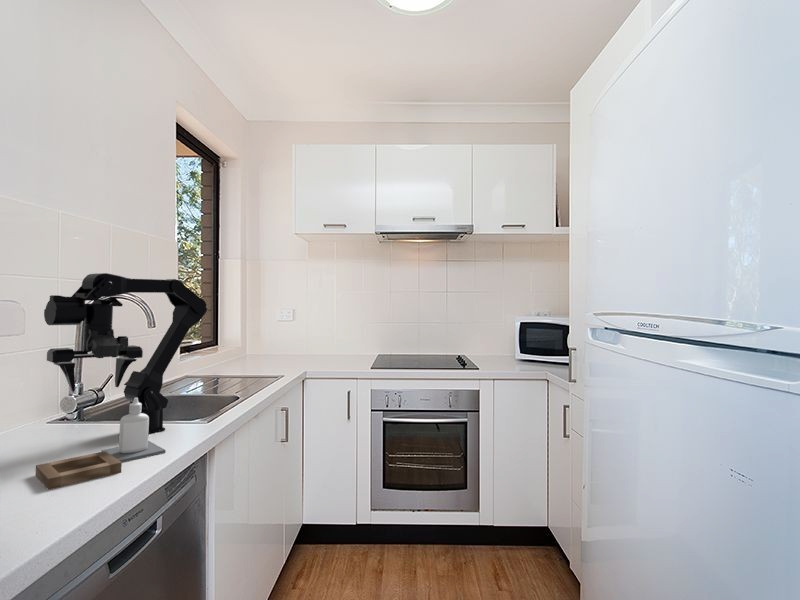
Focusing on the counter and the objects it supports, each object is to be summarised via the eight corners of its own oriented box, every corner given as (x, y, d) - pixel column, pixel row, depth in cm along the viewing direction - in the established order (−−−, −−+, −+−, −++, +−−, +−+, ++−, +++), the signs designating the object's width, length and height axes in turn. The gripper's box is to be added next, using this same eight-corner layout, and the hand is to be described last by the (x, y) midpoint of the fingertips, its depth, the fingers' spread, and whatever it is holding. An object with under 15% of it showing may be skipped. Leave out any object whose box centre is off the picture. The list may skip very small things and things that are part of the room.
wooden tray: (105, 460, 99) (105, 451, 99) (121, 472, 92) (121, 462, 92) (35, 475, 90) (35, 465, 90) (48, 489, 83) (48, 478, 83)
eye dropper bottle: (144, 453, 102) (146, 400, 102) (116, 454, 101) (118, 400, 101) (149, 446, 106) (152, 395, 106) (122, 447, 105) (125, 395, 105)
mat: (148, 443, 111) (148, 440, 111) (165, 452, 105) (165, 449, 105) (101, 452, 104) (101, 450, 104) (116, 463, 97) (116, 460, 97)
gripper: (61, 326, 98) (57, 399, 98) (152, 325, 112) (150, 389, 112) (47, 324, 105) (44, 392, 105) (135, 324, 120) (132, 383, 119)
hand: (95, 389), depth 110 cm, fingers open, 9 cm apart
